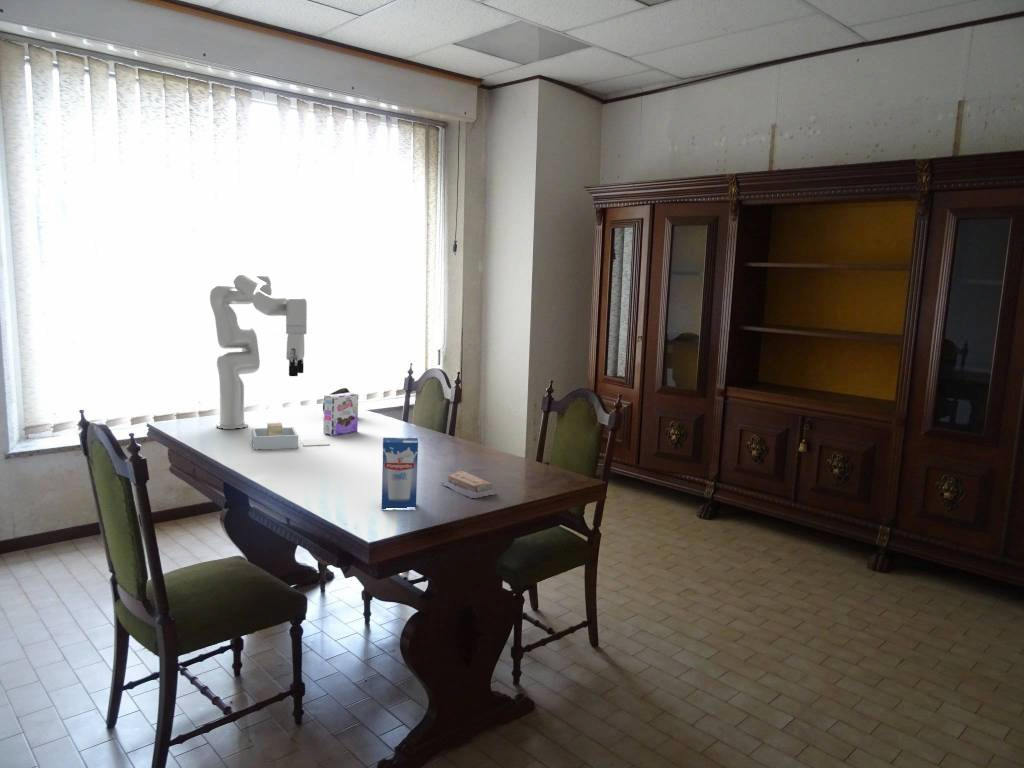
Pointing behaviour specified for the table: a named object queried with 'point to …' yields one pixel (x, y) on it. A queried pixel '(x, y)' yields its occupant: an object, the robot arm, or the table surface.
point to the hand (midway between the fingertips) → (296, 374)
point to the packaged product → (469, 482)
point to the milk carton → (399, 472)
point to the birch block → (274, 429)
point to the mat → (314, 442)
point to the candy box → (340, 413)
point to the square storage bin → (274, 439)
